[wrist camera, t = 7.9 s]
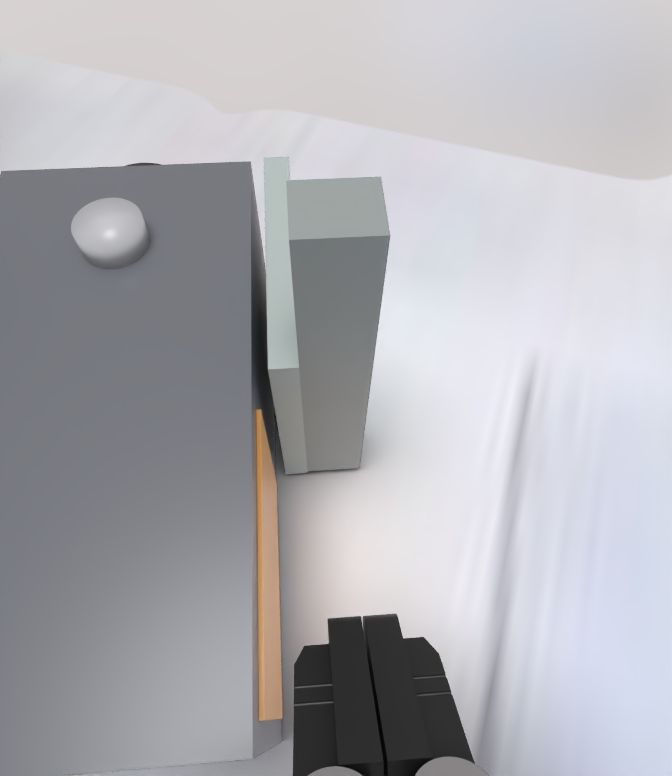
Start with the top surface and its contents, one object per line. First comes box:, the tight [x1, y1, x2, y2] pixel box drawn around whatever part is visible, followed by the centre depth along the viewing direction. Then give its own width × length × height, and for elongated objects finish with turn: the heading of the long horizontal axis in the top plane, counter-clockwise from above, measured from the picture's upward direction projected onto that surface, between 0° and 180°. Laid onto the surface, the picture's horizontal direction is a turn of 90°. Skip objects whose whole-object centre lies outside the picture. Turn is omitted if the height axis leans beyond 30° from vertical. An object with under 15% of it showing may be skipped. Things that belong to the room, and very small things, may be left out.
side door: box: [264, 157, 390, 474], centre depth 23 cm, size 10×3×15 cm, turn 4°
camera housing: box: [0, 162, 283, 776], centre depth 22 cm, size 22×10×11 cm, turn 4°
